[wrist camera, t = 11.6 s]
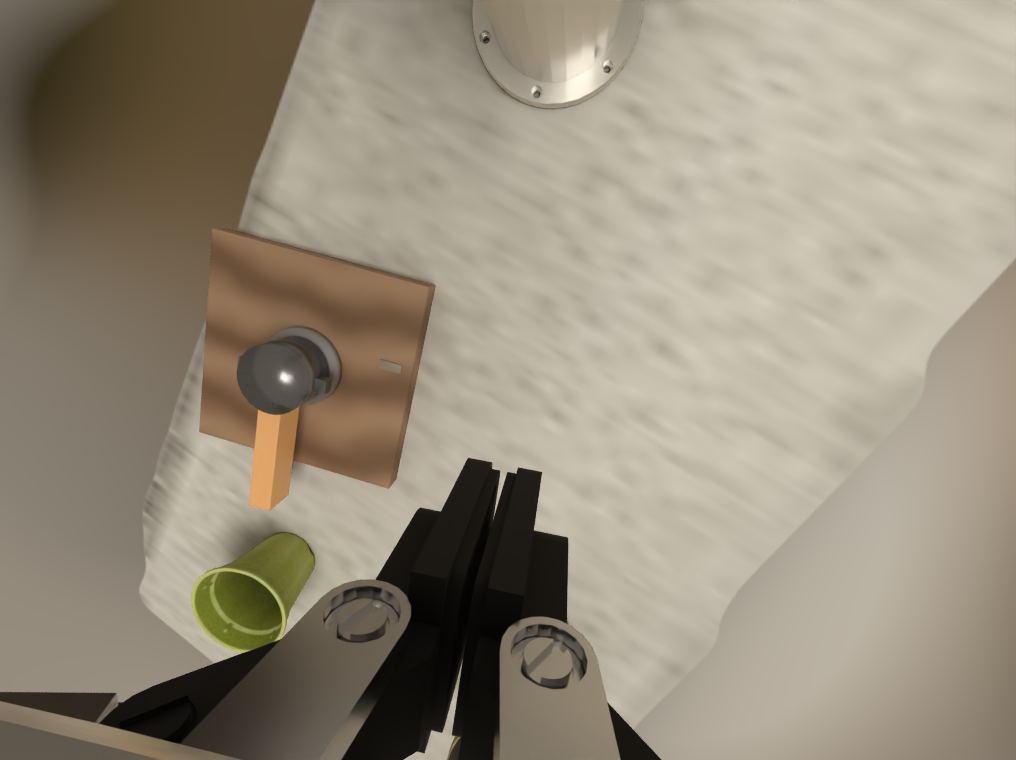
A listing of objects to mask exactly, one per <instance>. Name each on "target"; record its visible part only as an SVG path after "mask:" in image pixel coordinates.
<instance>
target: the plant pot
mask: <svg viewBox="0 0 1016 760" xmlns="http://www.w3.org/2000/svg"><path fill="white" fill-rule="evenodd" d="M314 563H315V560H314V556H313V555H312V553H311V552H310V549H309V547H308V544H307V543H306V542H305V541H304V540H302V539H301V538H299V537H298V536H296V535H293V534H290V533H279V534H276V535H273V536H270V537H269V538H267V539H266V540H264V541H263V542H261V543H260V544H259V545H257V546H256V547H254V548H253V549H251V550H250V551H248V552H247V553H245V554H244V555H242V556H241V557H239V558H238V559H236V560H235V561H233V562H232V563H230V564H227V565H224V566H222V567H218V568H214V569H212V570H210V571H208V572H206V573H205V574H203V575H202V576H201V577H200V578H199V579H198V580H197V581H196V583H195V585H194V587H193V590H192V593H191V606H192V610H193V614H194V616H195V618H196V620H197V622H198V624H199V625H200V627H201V628H202V629H203V630H204V632H205V633H206V634H207V635H208V636H209V637H211V638H212V639H213V640H214V641H216V642H217V643H219V644H220V645H222V646H224V647H226V648H229V649H231V650H234V651H238V652H244V653H245V652H247V651H250V650H253V649H255V648H258V647H261V646H264V645H266V644H269V643H272V642H275V641H277V640H280V639H281V637H282V635H283V634H284V631H285V628H286V623H287V618H288V616H289V611H290V609H291V608H292V606H293V604H294V602H295V601H296V599H297V597H298V595H299V593H300V592H301V590H302V588H303V586H304V585H305V583H306V581H307V580H308V578H309V576H310V574H311V573H312V571H313V569H314Z"/></svg>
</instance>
